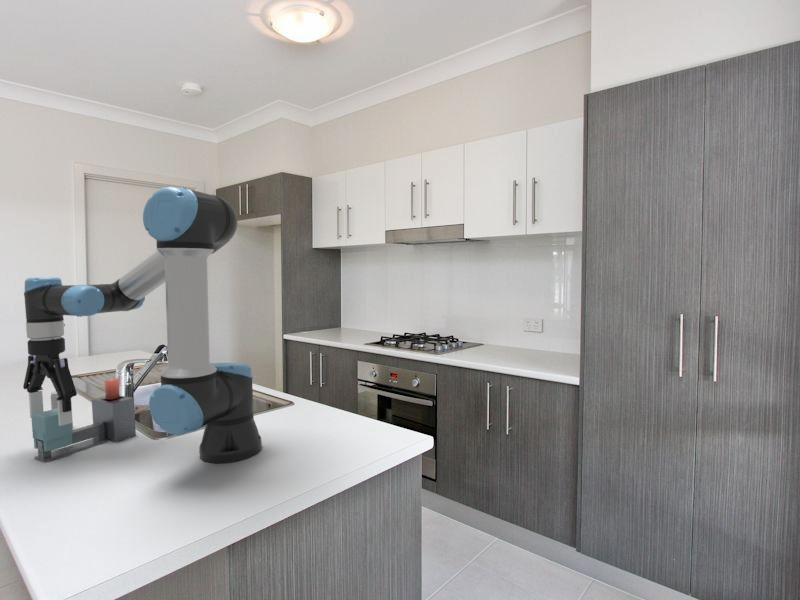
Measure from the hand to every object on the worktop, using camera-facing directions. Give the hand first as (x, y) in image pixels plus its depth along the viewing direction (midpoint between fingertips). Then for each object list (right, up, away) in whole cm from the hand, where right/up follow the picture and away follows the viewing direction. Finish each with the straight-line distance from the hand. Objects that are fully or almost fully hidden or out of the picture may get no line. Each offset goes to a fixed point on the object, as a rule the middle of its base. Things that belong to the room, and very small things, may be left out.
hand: (50, 420), depth 118 cm
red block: (+7, +3, +14) cm, 16 cm away
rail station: (+4, -9, +7) cm, 12 cm away
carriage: (0, -7, 0) cm, 7 cm away
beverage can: (-11, -9, +19) cm, 24 cm away
